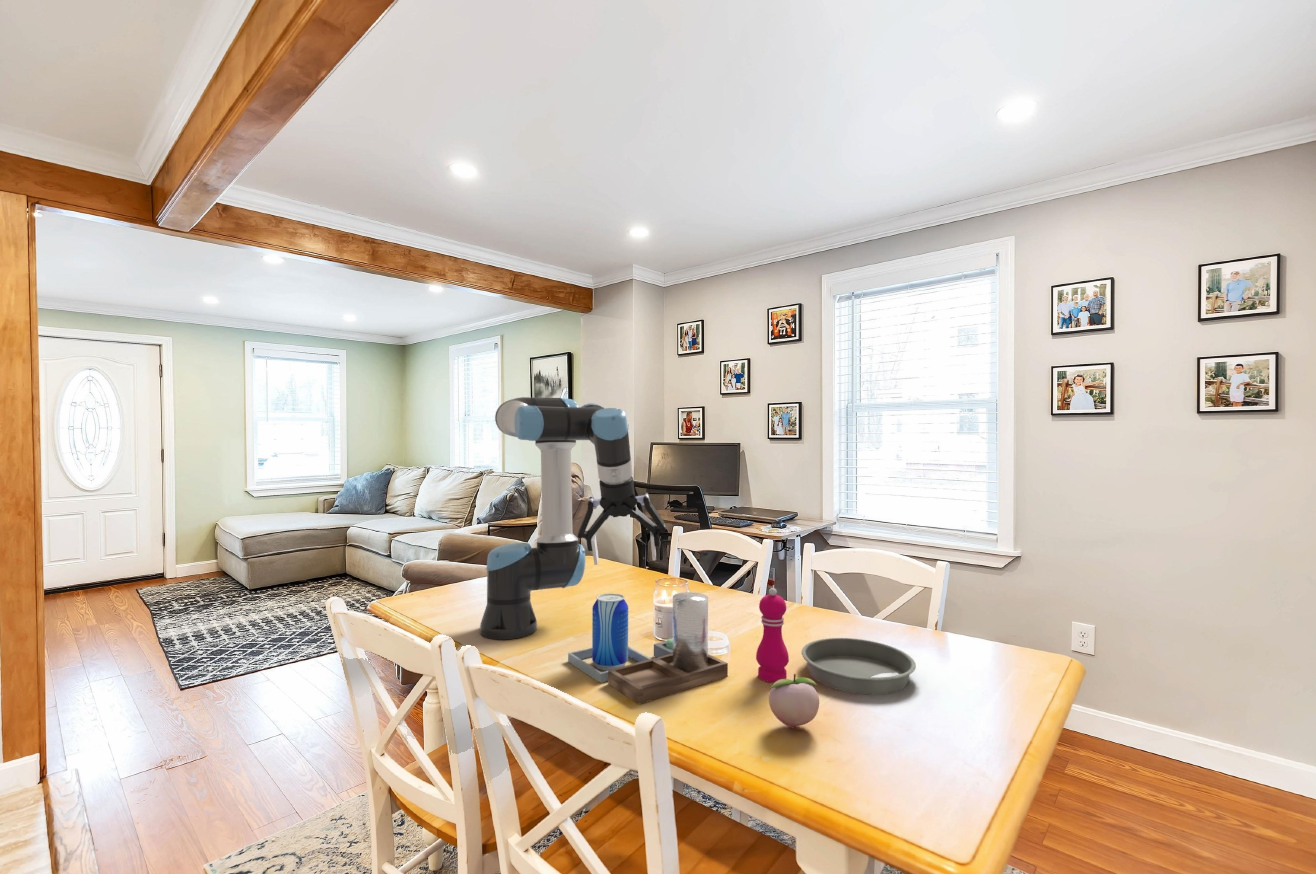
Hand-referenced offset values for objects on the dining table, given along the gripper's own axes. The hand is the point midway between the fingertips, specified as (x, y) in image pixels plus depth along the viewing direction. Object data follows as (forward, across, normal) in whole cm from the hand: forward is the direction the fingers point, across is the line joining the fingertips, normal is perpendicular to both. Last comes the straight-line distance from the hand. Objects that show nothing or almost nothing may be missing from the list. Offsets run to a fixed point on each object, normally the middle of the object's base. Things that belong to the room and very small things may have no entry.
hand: (625, 559), depth 142 cm
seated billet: (+21, +13, -13) cm, 28 cm away
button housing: (+26, +10, -4) cm, 28 cm away
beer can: (+23, -6, -9) cm, 25 cm away
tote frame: (+23, -6, -9) cm, 25 cm away
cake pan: (+26, +51, -14) cm, 59 cm away
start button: (+26, +9, -4) cm, 28 cm away
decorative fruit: (+15, +32, -37) cm, 51 cm away
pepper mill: (+24, +31, -15) cm, 42 cm away
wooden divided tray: (+21, +8, -17) cm, 28 cm away
